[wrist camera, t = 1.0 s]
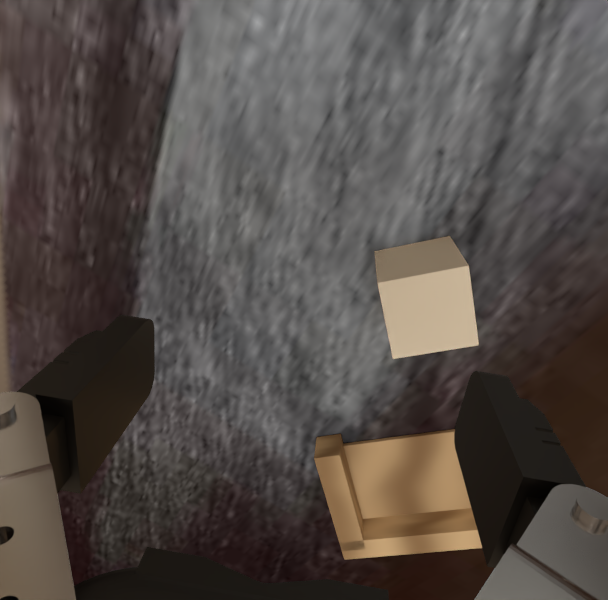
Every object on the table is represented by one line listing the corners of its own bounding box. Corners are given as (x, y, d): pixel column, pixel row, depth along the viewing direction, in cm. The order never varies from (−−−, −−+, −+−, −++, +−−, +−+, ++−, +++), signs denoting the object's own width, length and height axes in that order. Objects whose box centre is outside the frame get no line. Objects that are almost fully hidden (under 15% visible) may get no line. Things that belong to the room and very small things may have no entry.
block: (449, 235, 32) (468, 265, 26) (459, 303, 33) (478, 345, 28) (374, 251, 33) (377, 283, 27) (387, 316, 34) (393, 358, 29)
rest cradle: (495, 412, 36) (504, 434, 34) (508, 519, 40) (517, 544, 38) (316, 437, 39) (314, 458, 37) (345, 534, 43) (344, 559, 41)
